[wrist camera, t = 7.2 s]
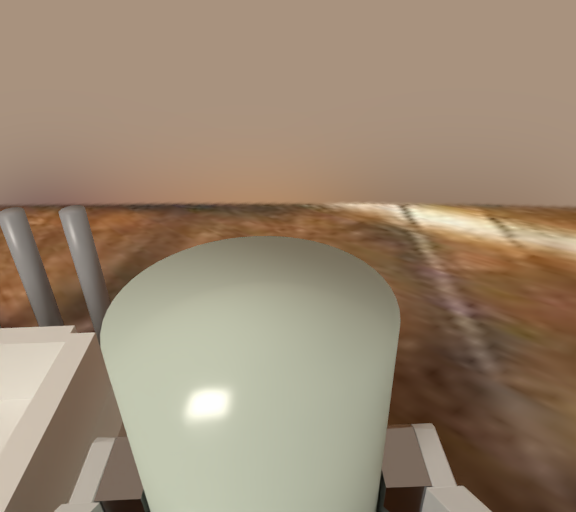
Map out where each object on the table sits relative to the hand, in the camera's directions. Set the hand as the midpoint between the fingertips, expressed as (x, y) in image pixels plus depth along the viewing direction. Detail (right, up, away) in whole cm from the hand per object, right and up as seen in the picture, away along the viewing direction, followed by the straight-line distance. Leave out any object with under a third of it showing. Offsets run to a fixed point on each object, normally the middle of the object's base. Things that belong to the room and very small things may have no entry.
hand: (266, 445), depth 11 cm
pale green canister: (0, -6, +2) cm, 6 cm away
